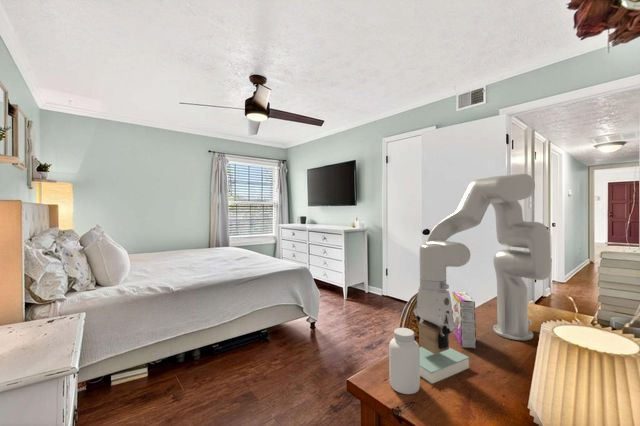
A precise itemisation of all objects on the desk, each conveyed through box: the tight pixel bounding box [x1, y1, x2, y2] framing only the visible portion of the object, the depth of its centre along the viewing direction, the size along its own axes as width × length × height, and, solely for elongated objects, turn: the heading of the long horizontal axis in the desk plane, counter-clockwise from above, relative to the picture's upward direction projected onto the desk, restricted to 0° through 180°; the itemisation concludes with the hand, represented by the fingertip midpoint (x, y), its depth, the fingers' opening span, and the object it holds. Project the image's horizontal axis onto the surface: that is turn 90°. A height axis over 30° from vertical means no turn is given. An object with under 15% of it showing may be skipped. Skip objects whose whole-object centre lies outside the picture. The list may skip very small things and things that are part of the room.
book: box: [419, 346, 470, 385], centre depth 87 cm, size 12×16×4 cm
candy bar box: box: [452, 291, 477, 349], centre depth 102 cm, size 11×5×16 cm, turn 168°
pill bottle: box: [388, 327, 421, 395], centre depth 78 cm, size 8×8×15 cm
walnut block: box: [418, 321, 450, 354], centre depth 87 cm, size 6×6×7 cm
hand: (433, 342), depth 87 cm, fingers closed on walnut block, 6 cm apart
